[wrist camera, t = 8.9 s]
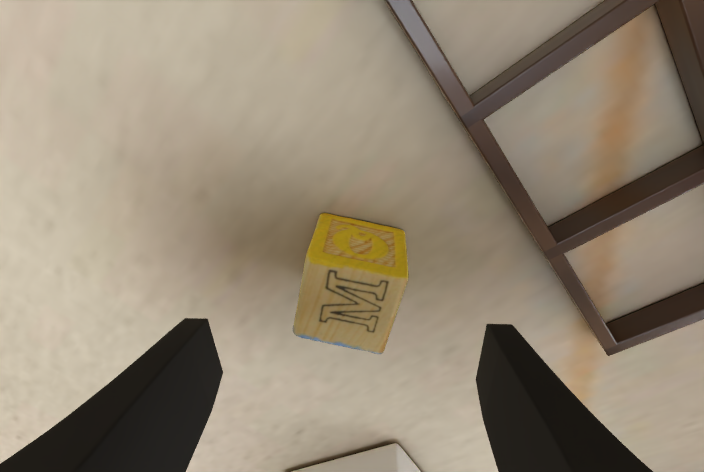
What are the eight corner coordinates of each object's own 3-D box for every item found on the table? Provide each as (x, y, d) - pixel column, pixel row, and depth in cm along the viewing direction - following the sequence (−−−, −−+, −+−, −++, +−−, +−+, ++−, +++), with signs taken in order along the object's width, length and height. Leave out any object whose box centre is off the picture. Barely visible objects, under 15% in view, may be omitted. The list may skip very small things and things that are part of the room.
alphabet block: (305, 280, 15) (290, 339, 12) (318, 209, 13) (304, 258, 11) (383, 296, 15) (385, 357, 12) (405, 227, 13) (412, 280, 11)
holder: (972, 182, 11) (1020, 197, 11) (595, 337, 15) (608, 356, 14) (952, -695, 5) (1062, -829, 5) (338, -73, 9) (334, -81, 8)
